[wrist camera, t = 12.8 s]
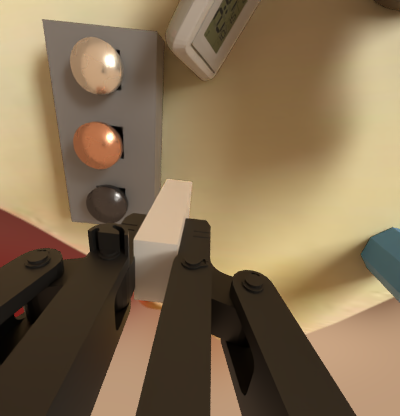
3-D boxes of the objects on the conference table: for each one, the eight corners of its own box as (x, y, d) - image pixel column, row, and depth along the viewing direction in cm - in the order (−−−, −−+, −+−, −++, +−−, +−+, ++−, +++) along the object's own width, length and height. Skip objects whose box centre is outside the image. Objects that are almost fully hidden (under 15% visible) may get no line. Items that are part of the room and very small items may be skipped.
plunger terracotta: (91, 116, 31) (70, 120, 26) (131, 120, 31) (118, 124, 26) (94, 157, 33) (76, 167, 28) (132, 160, 33) (120, 171, 28)
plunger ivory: (89, 44, 29) (66, 34, 24) (133, 49, 29) (118, 39, 24) (93, 92, 31) (73, 91, 26) (134, 96, 31) (121, 96, 26)
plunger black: (100, 173, 35) (84, 185, 31) (135, 177, 35) (125, 189, 31) (102, 206, 38) (88, 221, 33) (136, 209, 38) (126, 225, 33)
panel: (67, 31, 30) (42, 19, 25) (164, 41, 30) (156, 31, 25) (87, 207, 40) (71, 221, 35) (159, 214, 40) (153, 229, 35)
